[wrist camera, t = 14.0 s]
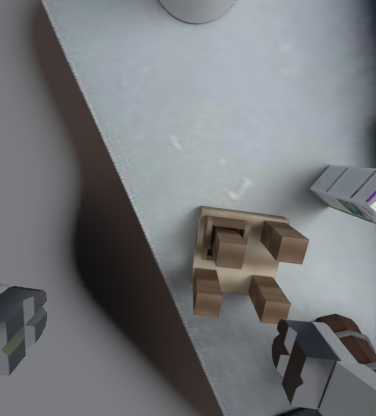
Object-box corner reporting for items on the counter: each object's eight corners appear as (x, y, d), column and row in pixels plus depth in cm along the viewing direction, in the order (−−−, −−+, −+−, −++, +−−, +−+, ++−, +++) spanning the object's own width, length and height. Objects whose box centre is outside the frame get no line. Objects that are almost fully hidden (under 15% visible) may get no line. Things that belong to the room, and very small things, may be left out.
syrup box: (307, 189, 42) (367, 208, 28) (330, 163, 41) (404, 170, 27) (329, 207, 43) (397, 234, 29) (352, 182, 42) (435, 198, 28)
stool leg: (214, 224, 41) (220, 242, 34) (235, 227, 42) (246, 245, 34) (210, 245, 42) (215, 266, 35) (231, 247, 43) (241, 269, 35)
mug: (343, 304, 48) (409, 371, 34) (364, 344, 51) (435, 421, 36) (277, 338, 51) (313, 413, 36) (301, 374, 53) (343, 458, 39)
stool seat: (201, 205, 43) (205, 223, 33) (284, 216, 44) (313, 237, 33) (189, 280, 47) (190, 316, 37) (265, 289, 48) (287, 328, 37)
